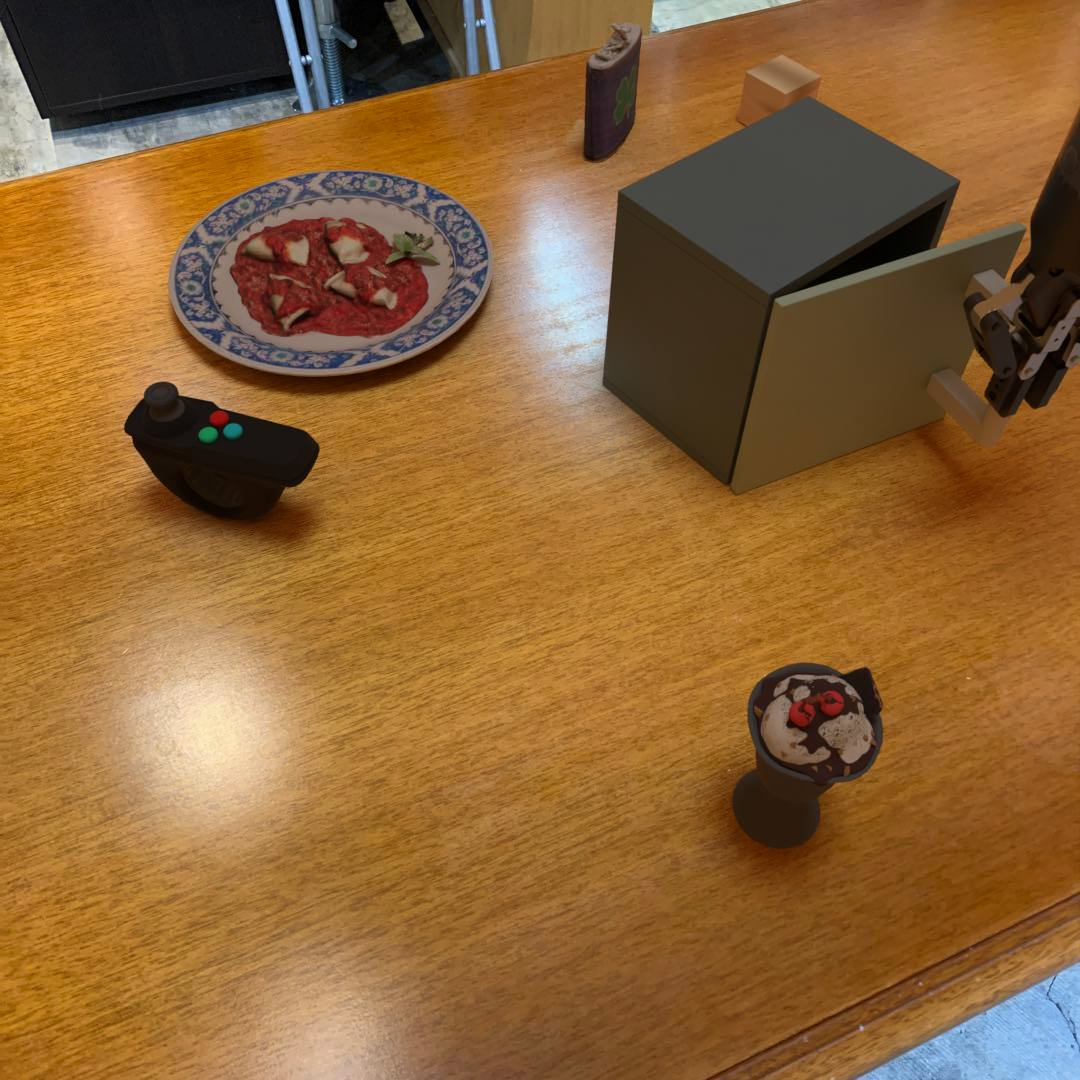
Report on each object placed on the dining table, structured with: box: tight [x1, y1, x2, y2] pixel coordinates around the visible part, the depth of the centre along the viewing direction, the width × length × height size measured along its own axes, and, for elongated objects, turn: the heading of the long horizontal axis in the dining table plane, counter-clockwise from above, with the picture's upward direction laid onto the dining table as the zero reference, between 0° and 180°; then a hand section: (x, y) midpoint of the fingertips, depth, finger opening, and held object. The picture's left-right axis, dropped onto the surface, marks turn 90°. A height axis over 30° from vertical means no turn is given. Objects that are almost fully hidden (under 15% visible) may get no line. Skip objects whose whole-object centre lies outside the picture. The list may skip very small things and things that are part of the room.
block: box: [737, 54, 822, 127], centre depth 102 cm, size 5×5×5 cm
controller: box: [123, 381, 321, 522], centre depth 70 cm, size 4×12×10 cm, turn 73°
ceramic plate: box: [167, 169, 494, 378], centre depth 87 cm, size 26×26×3 cm
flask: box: [582, 21, 643, 163], centre depth 98 cm, size 9×3×11 cm, turn 155°
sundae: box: [731, 661, 884, 850], centre depth 55 cm, size 7×7×15 cm
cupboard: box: [601, 96, 962, 487], centre depth 76 cm, size 13×18×17 cm
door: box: [730, 221, 1028, 496], centre depth 69 cm, size 7×18×17 cm, turn 115°
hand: (1015, 402), depth 69 cm, fingers closed on door, 2 cm apart
